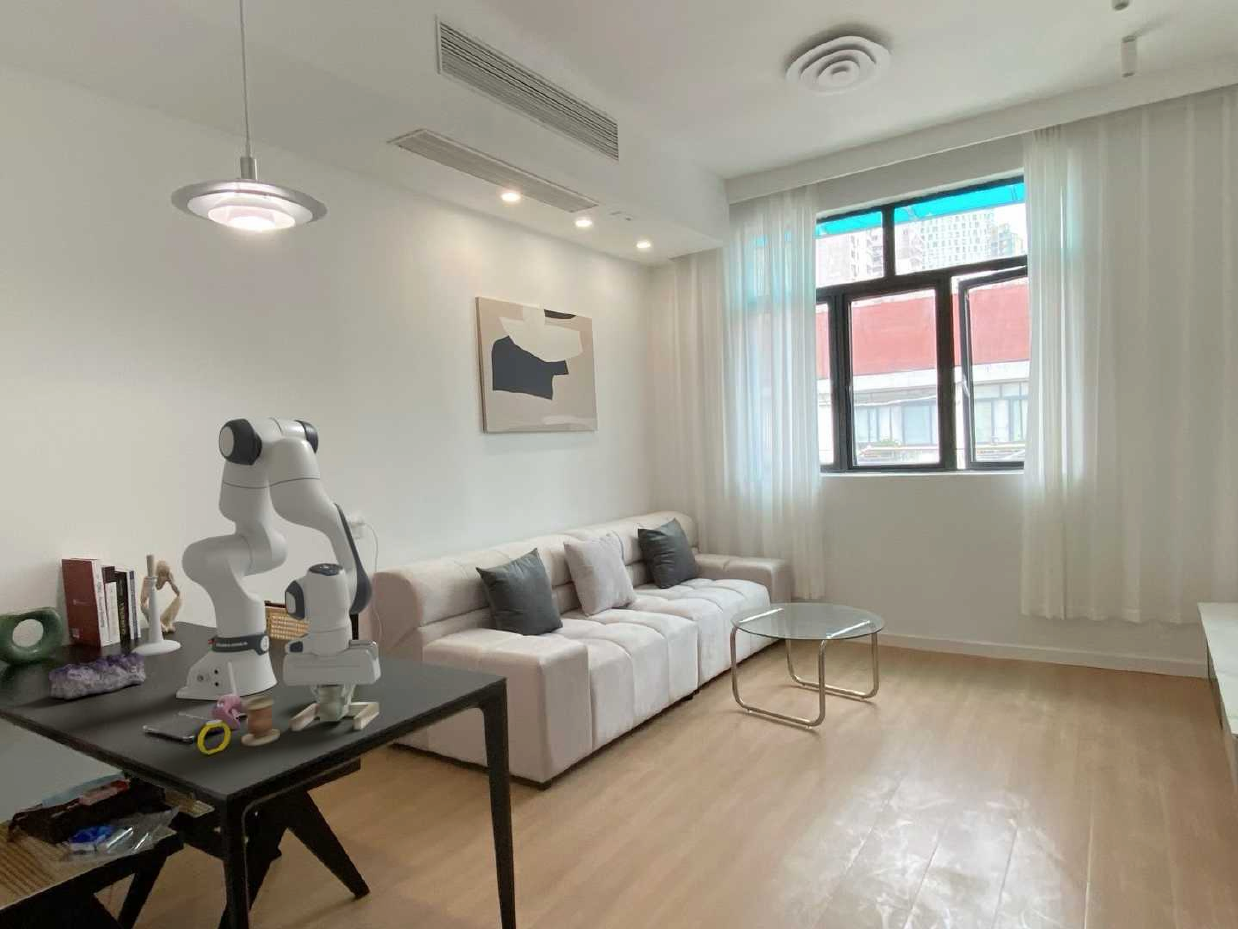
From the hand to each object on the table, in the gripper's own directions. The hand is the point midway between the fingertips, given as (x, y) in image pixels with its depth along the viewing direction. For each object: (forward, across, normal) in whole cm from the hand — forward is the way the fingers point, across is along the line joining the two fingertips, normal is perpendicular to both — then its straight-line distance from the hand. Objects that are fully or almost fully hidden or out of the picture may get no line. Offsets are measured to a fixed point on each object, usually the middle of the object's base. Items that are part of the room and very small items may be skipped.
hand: (333, 704), depth 160 cm
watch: (+4, +18, +14) cm, 23 cm away
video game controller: (+4, +24, -2) cm, 24 cm away
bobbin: (+4, +12, +8) cm, 15 cm away
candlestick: (+5, +87, -64) cm, 108 cm away
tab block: (+3, 0, 0) cm, 3 cm away
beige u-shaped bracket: (+4, 0, 0) cm, 4 cm away
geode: (+5, +74, -26) cm, 79 cm away
